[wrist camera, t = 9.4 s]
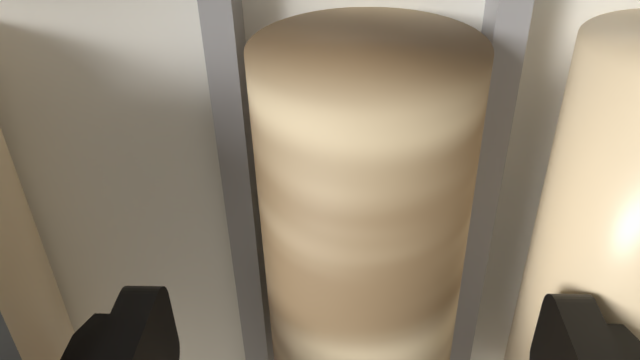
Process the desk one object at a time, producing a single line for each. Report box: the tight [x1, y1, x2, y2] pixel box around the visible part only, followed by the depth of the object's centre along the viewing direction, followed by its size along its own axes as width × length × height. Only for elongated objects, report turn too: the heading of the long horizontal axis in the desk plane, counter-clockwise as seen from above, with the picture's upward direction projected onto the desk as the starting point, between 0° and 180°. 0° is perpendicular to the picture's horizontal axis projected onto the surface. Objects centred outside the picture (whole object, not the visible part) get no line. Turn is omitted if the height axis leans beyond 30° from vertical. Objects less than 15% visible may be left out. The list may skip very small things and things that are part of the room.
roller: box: [244, 7, 494, 360], centre depth 12 cm, size 10×4×4 cm, turn 1°
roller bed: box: [0, 0, 640, 360], centre depth 13 cm, size 12×28×6 cm, turn 91°
